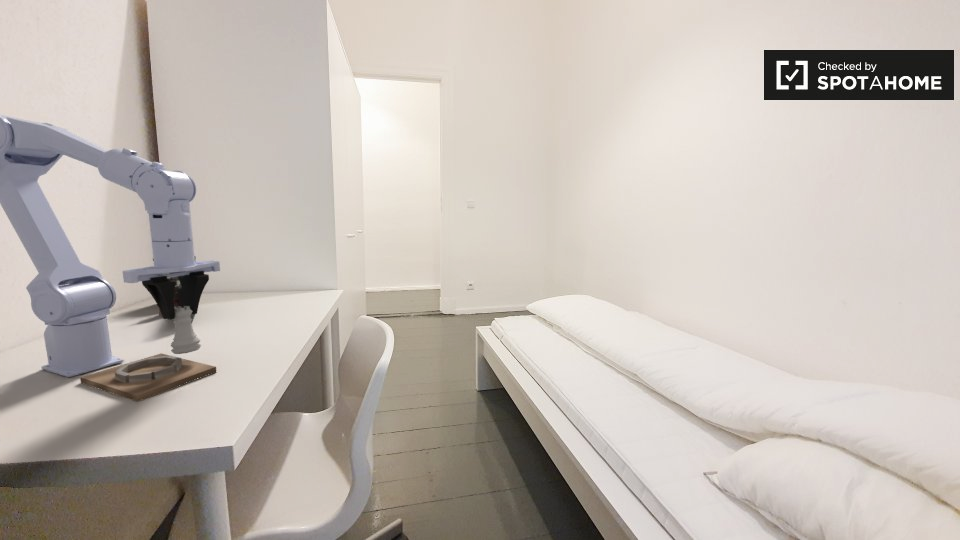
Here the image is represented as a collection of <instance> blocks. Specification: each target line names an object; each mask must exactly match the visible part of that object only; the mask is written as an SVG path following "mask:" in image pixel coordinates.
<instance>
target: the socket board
mask: <svg viewBox="0 0 960 540" xmlns="http://www.w3.org/2000/svg"><path fill="white" fill-rule="evenodd" d="M216 371H217V367H216V366H215V365H209V364H206V363H202V362H198V361H194V360H191V359H190V360H189V359H186V358H182V357H178V356H174V355H169V354H166V353H162V352H161V353H158V354H155V355H151V356H147V357H144V358H141V359H137V360H134V361H130V362H128V363H124V364H121V365H117V366H113V367H110V368H106V369H104V370H99V371H96V372H93V373H89V374H86V375H82V376H80V377H79V379H80V383H81V384H83V383H84V384H83V385H86V384H87V385H86V386H89V385H90V387H92V386H93V387H92V388H95V387H96V388H95V389H98V388H99V389H98V390H101V389H102V390H101V391H104V390H105V391H104V392H108V393H110V392H111V394H113V393H114V395H116V394H117V396H120V397H123V398H125V399H129V400H132V401H135V402H137V403H138V402H140V401H142V400H146V399H149V398H151V397H153V396H157V395H159V394H162V393H164V392H167V391H169V390H172V388H173V389H175V388H178V387H180V386H179V385H181V386H183V385H185V384H184V383H186V382H189V381H191V382H193V381H192V380H194V379H197V378H199V379H201V378H200V377H202V378H204V377H203V376H205V375H207V376H209V375H208V374H210V375H212V374H211V373H213V374H215V373H217V372H216ZM214 372H215V373H214ZM205 377H206V376H205ZM197 380H198V379H197ZM194 381H195V380H194ZM189 383H190V382H189ZM182 384H183V385H182ZM186 384H187V383H186ZM177 386H178V387H177ZM174 387H175V388H174Z"/></svg>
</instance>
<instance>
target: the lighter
mask: <svg viewBox="0 0 960 540" xmlns="http://www.w3.org/2000/svg"><path fill="white" fill-rule="evenodd" d="M167 279H169V281H173V282H175V283H176V284H175V289H174V308H175V307H176V309H177V308H178V307H179V301H178V291H177V288H178V286H179V285H180V283H179V284H177V282H176V281H178V280H179V279H178V276H175V277H168V278H167ZM158 315H159V317H163V316H162V314H161V311H160V309H159V312H158Z"/></svg>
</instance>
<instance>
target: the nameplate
mask: <svg viewBox="0 0 960 540" xmlns="http://www.w3.org/2000/svg"><path fill="white" fill-rule="evenodd" d="M177 291H178V301H179V307H180V306H181V308H184V306H185V305H184V295H183V291H182V287H181V284H180V285H179V286H178V288H177ZM195 316H196V314H191V315H190V317H191V319H192V321H191V323H192V324H193V322H194V319H195Z"/></svg>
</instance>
